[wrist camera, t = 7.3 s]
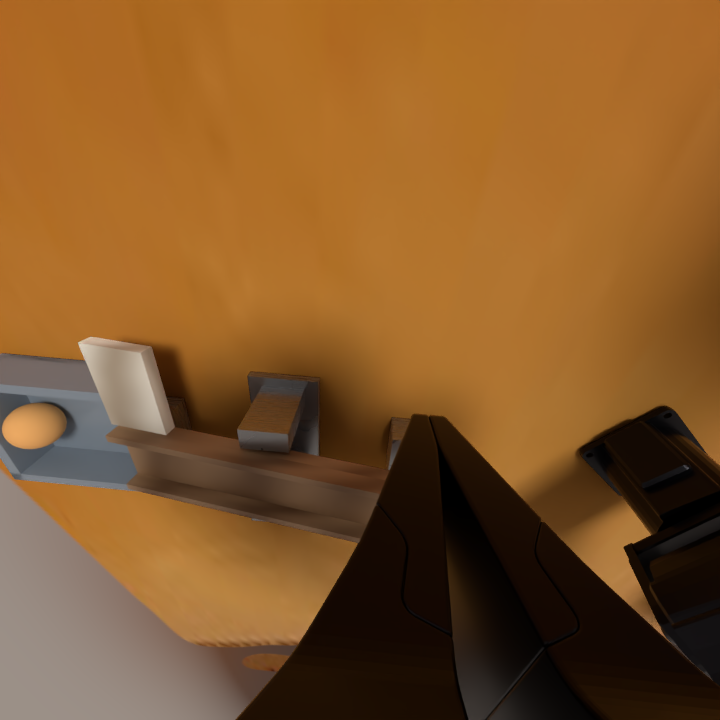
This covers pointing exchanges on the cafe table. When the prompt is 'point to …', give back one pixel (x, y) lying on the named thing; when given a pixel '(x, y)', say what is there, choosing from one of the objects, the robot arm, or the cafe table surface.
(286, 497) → the lever
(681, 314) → the cafe table surface
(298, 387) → the stand
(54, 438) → the ball
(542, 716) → the robot arm
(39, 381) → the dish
